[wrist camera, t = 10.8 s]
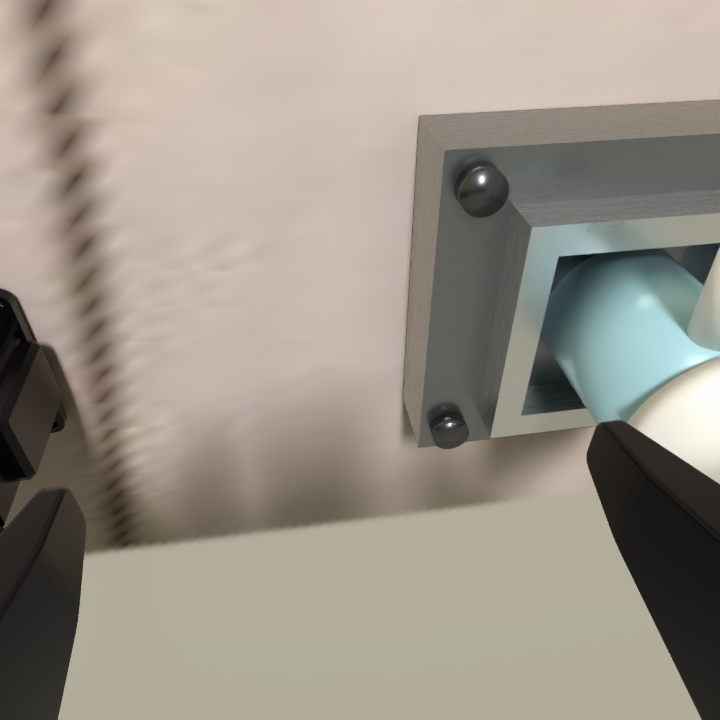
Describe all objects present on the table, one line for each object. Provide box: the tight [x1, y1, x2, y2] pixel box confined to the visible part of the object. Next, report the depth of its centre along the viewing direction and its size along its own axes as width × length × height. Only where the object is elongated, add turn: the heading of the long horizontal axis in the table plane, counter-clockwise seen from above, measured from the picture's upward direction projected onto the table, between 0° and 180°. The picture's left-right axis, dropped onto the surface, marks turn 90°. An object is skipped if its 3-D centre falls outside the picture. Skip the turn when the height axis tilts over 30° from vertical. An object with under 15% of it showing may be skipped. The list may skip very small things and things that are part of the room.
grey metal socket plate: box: [403, 100, 720, 449], centre depth 21 cm, size 13×12×4 cm
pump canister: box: [541, 247, 720, 484], centre depth 17 cm, size 5×8×7 cm
